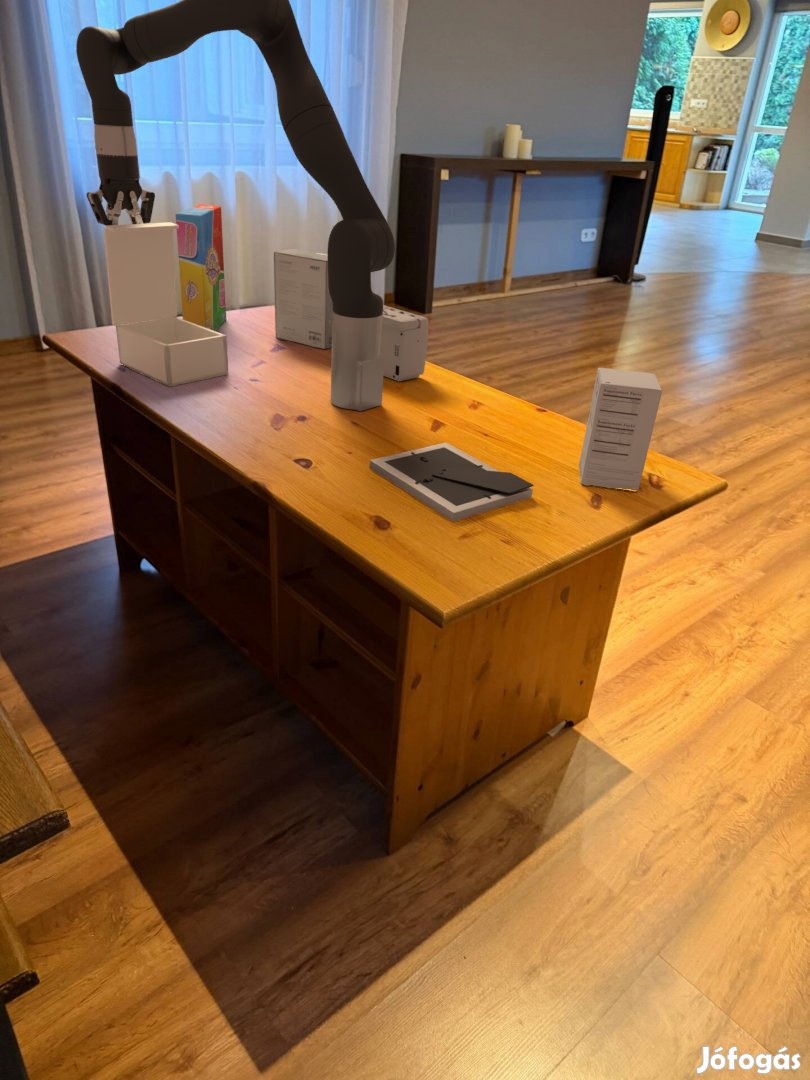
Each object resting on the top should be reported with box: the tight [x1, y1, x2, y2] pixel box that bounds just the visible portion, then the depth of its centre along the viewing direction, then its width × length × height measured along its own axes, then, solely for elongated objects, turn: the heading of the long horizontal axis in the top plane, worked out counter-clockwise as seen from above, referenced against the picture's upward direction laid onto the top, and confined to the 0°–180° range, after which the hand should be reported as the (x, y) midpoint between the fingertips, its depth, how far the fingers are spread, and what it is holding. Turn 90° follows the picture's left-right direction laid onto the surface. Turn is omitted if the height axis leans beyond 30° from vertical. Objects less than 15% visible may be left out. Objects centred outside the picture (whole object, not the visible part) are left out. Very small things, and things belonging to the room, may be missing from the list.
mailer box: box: [115, 316, 229, 387], centre depth 156 cm, size 18×14×8 cm
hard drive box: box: [273, 248, 333, 350], centre depth 179 cm, size 16×8×20 cm, turn 58°
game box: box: [175, 204, 227, 331], centre depth 180 cm, size 21×6×27 cm, turn 179°
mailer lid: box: [103, 221, 179, 327], centre depth 155 cm, size 19×15×8 cm
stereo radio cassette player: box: [381, 304, 429, 383], centre depth 163 cm, size 21×8×20 cm, turn 46°
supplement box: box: [578, 367, 663, 491], centre depth 121 cm, size 10×9×17 cm
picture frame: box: [369, 442, 534, 522], centre depth 119 cm, size 16×3×21 cm
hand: (127, 246), depth 155 cm, fingers closed on mailer lid, 4 cm apart
